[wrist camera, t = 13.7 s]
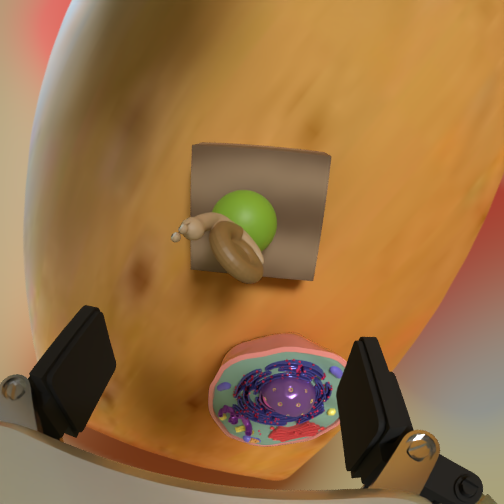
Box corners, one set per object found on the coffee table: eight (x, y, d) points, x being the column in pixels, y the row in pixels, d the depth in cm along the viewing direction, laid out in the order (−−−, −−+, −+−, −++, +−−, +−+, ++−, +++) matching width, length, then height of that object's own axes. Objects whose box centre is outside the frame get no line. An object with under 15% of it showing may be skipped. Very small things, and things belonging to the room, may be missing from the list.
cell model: (200, 386, 43) (184, 447, 32) (245, 281, 35) (233, 347, 24) (302, 414, 44) (304, 473, 34) (371, 325, 36) (395, 390, 26)
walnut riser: (202, 142, 29) (192, 145, 25) (324, 152, 28) (331, 156, 25) (200, 253, 34) (191, 269, 30) (309, 263, 33) (313, 281, 30)
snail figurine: (237, 163, 26) (208, 194, 15) (289, 214, 27) (298, 280, 16) (196, 206, 27) (145, 263, 16) (246, 253, 29) (229, 334, 18)
